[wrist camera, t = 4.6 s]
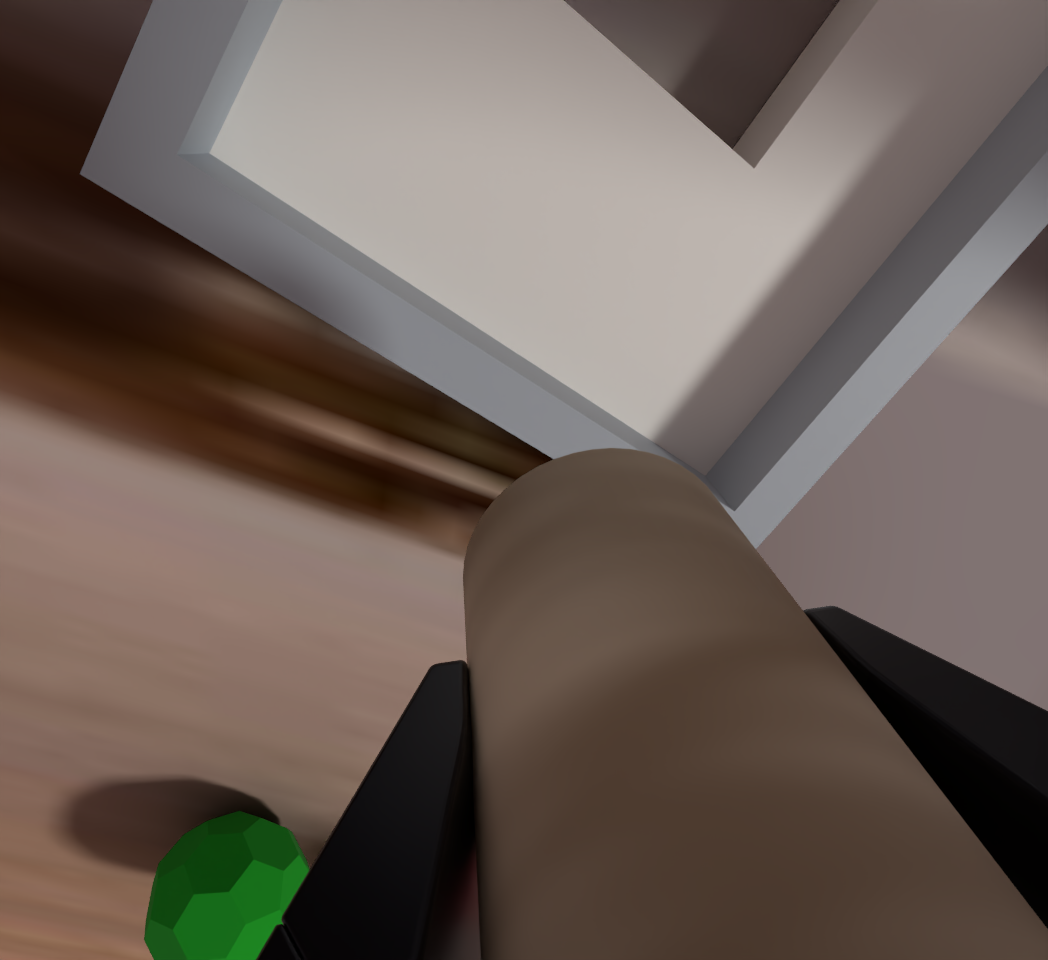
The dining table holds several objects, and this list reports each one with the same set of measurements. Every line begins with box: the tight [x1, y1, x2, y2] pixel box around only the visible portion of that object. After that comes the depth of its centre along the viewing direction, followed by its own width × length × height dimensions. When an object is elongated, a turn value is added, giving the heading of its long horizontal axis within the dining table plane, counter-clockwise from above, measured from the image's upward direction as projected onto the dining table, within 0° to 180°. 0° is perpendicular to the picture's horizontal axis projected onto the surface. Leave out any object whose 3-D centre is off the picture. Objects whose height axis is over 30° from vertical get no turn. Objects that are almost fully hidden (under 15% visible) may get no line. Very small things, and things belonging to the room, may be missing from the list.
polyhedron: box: [144, 811, 310, 960], centre depth 23 cm, size 5×5×5 cm
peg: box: [463, 448, 1048, 960], centre depth 7 cm, size 4×4×8 cm
